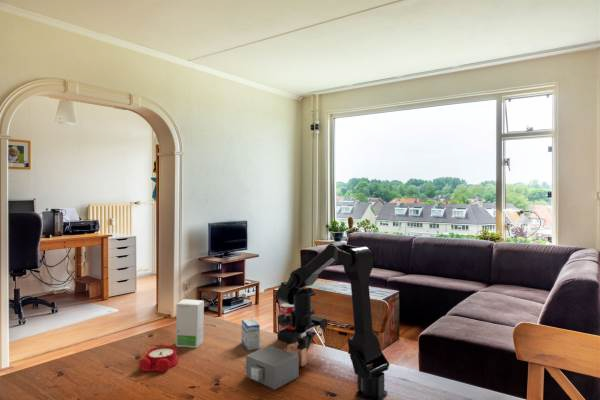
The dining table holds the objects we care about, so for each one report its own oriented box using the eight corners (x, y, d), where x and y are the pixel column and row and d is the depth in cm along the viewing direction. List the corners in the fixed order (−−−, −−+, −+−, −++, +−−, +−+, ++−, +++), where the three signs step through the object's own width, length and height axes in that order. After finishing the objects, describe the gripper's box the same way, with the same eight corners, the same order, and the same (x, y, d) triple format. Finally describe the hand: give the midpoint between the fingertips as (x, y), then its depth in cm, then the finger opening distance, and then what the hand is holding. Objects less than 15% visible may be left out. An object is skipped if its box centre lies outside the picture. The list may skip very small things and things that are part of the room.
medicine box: (241, 343, 148) (241, 319, 148) (253, 341, 150) (252, 317, 150) (247, 350, 141) (247, 326, 140) (260, 348, 143) (259, 324, 142)
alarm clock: (184, 345, 137) (166, 353, 122) (182, 365, 136) (165, 375, 121) (154, 344, 138) (133, 352, 123) (152, 364, 136) (131, 374, 122)
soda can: (296, 342, 148) (296, 307, 147) (277, 341, 149) (277, 306, 149) (300, 335, 155) (300, 302, 154) (282, 334, 156) (282, 301, 156)
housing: (298, 376, 121) (298, 355, 121) (275, 389, 113) (274, 366, 113) (270, 365, 129) (270, 345, 129) (246, 376, 121) (246, 355, 121)
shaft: (306, 364, 128) (306, 347, 128) (262, 386, 114) (261, 368, 114) (292, 358, 132) (292, 343, 132) (247, 380, 118) (247, 362, 118)
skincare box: (175, 347, 144) (174, 303, 144) (183, 340, 151) (182, 298, 151) (198, 348, 143) (197, 304, 143) (204, 341, 150) (204, 299, 150)
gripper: (302, 296, 143) (303, 340, 144) (264, 310, 129) (265, 358, 130) (327, 302, 136) (328, 348, 137) (290, 317, 122) (291, 368, 123)
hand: (303, 355), depth 132 cm, fingers closed
